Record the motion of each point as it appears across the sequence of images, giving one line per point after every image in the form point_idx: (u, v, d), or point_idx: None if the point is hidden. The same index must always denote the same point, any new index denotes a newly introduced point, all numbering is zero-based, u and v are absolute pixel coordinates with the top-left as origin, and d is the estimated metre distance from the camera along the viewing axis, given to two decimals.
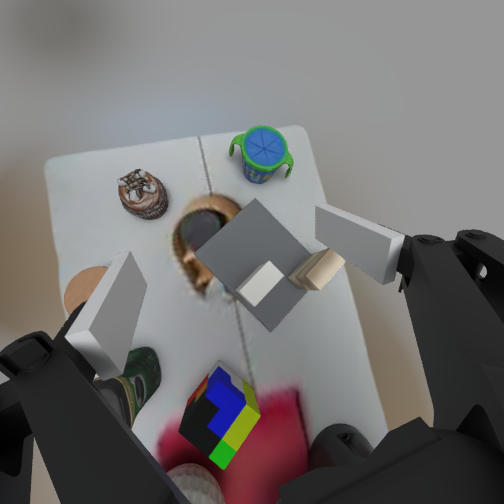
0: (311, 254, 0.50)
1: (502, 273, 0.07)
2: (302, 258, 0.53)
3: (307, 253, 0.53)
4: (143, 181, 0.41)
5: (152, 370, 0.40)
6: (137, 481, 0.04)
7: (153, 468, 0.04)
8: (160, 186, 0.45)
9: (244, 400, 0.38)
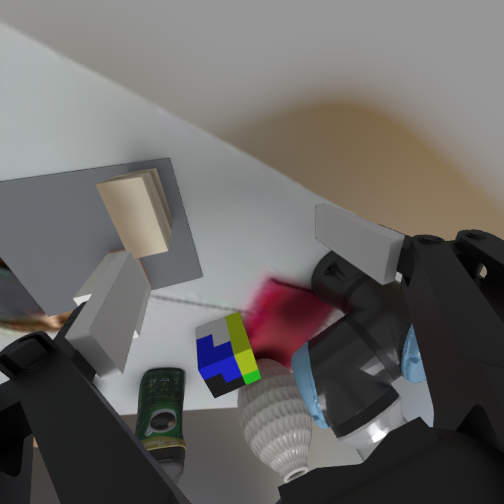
0: (122, 174, 0.27)
1: (502, 273, 0.07)
2: None
3: (123, 168, 0.29)
4: None
5: (163, 386, 0.43)
6: (137, 481, 0.04)
7: (153, 468, 0.04)
8: None
9: (231, 352, 0.38)
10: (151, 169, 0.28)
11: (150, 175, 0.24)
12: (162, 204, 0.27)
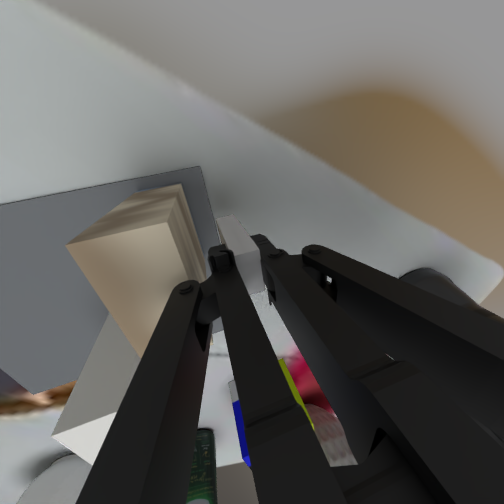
0: None
1: (348, 285, 0.08)
2: None
3: (130, 186, 0.18)
4: None
5: None
6: (272, 376, 0.05)
7: (284, 376, 0.05)
8: None
9: None
10: (174, 187, 0.17)
11: (177, 204, 0.13)
12: (194, 246, 0.16)
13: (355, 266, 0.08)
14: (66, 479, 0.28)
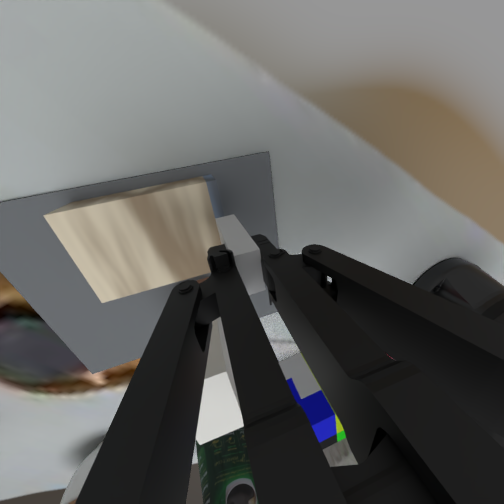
0: (182, 181, 0.19)
1: (348, 284, 0.08)
2: None
3: (206, 169, 0.19)
4: None
5: (229, 444, 0.35)
6: (272, 376, 0.05)
7: (284, 376, 0.05)
8: None
9: (329, 409, 0.29)
10: (182, 186, 0.16)
11: (118, 205, 0.15)
12: (160, 245, 0.17)
13: (355, 266, 0.08)
14: None
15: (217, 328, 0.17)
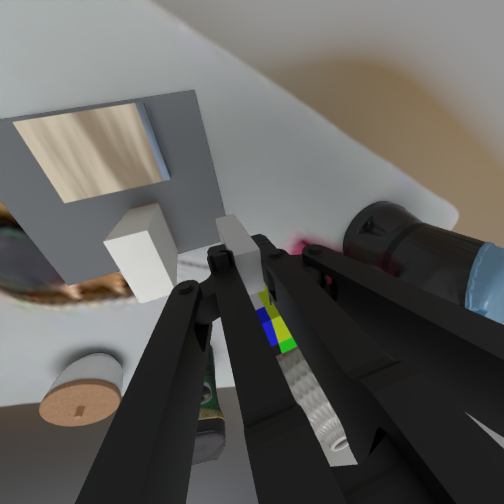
0: None
1: (348, 284, 0.08)
2: None
3: None
4: None
5: None
6: (272, 376, 0.05)
7: (284, 376, 0.05)
8: None
9: (267, 317, 0.35)
10: (117, 106, 0.22)
11: (68, 117, 0.21)
12: (105, 155, 0.23)
13: (355, 266, 0.08)
14: (94, 363, 0.35)
15: (151, 218, 0.23)
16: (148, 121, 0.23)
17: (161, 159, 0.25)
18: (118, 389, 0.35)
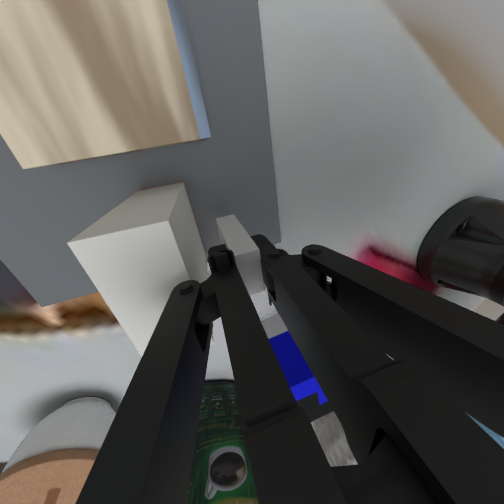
0: None
1: (348, 284, 0.08)
2: None
3: None
4: None
5: (217, 409, 0.30)
6: (272, 376, 0.05)
7: (284, 376, 0.05)
8: None
9: None
10: None
11: None
12: (100, 79, 0.12)
13: (355, 266, 0.08)
14: (78, 418, 0.24)
15: (175, 201, 0.12)
16: (182, 16, 0.12)
17: (199, 97, 0.14)
18: None
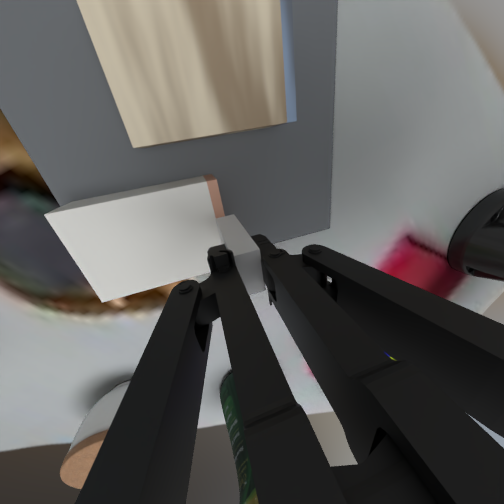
0: None
1: (349, 285, 0.08)
2: None
3: None
4: None
5: None
6: (272, 376, 0.05)
7: (284, 376, 0.05)
8: None
9: None
10: None
11: None
12: (212, 62, 0.13)
13: (355, 266, 0.08)
14: None
15: (106, 202, 0.15)
16: (290, 4, 0.13)
17: (292, 82, 0.15)
18: None
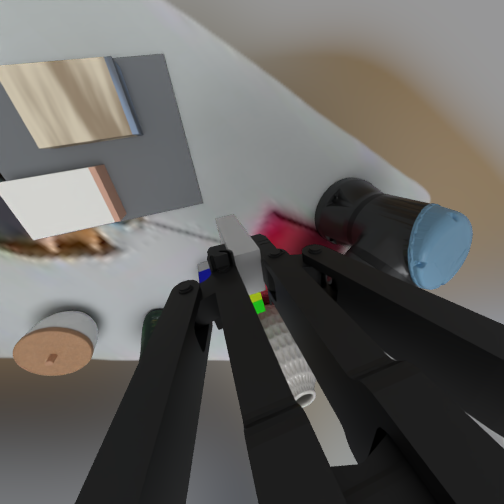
0: None
1: (348, 284, 0.08)
2: None
3: None
4: None
5: None
6: (272, 376, 0.05)
7: (284, 376, 0.05)
8: None
9: None
10: None
11: (42, 66, 0.23)
12: (77, 104, 0.25)
13: (355, 266, 0.08)
14: (69, 316, 0.37)
15: (28, 178, 0.27)
16: (116, 75, 0.25)
17: (129, 113, 0.27)
18: (91, 342, 0.37)
